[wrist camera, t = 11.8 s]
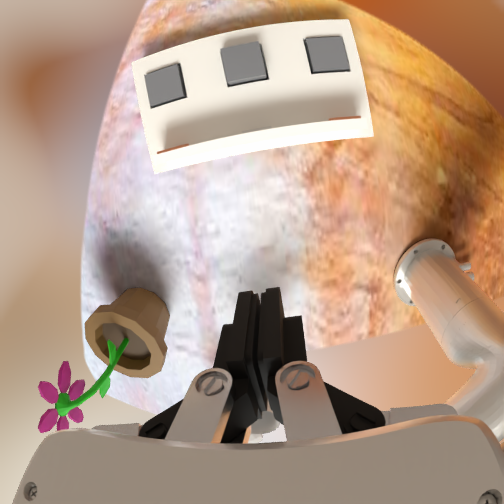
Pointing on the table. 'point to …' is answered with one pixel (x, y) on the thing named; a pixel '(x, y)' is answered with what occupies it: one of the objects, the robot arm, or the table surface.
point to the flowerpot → (112, 352)
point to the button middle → (243, 63)
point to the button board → (253, 97)
